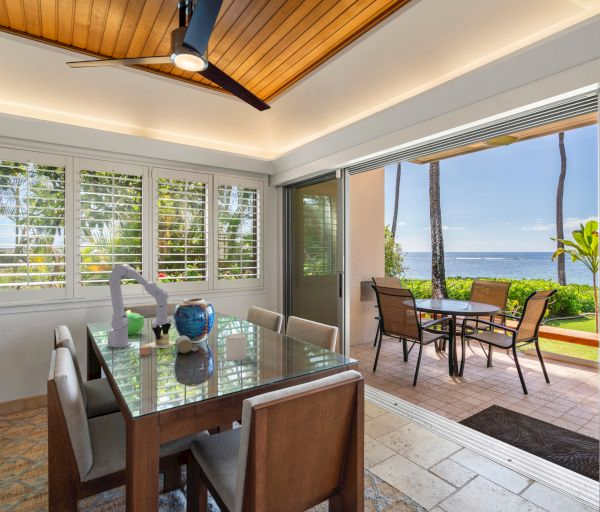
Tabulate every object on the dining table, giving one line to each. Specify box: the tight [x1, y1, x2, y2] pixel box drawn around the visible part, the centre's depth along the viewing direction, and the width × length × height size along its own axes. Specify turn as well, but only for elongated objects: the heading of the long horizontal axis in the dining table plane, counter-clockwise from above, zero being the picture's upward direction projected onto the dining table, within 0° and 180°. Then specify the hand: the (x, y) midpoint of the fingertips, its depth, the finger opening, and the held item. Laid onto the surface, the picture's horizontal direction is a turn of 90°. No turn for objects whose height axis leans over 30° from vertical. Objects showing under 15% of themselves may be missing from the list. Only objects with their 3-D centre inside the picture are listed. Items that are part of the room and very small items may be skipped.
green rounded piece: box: [111, 309, 146, 336], centre depth 222 cm, size 18×17×15 cm
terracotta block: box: [139, 345, 152, 357], centre depth 180 cm, size 4×4×4 cm
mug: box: [225, 333, 248, 362], centre depth 178 cm, size 14×10×11 cm
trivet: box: [142, 340, 176, 350], centre depth 200 cm, size 14×14×1 cm
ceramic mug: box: [174, 335, 198, 354], centre depth 187 cm, size 11×8×8 cm
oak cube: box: [155, 332, 170, 345], centre depth 199 cm, size 5×5×5 cm
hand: (161, 338), depth 200 cm, fingers open, 6 cm apart
